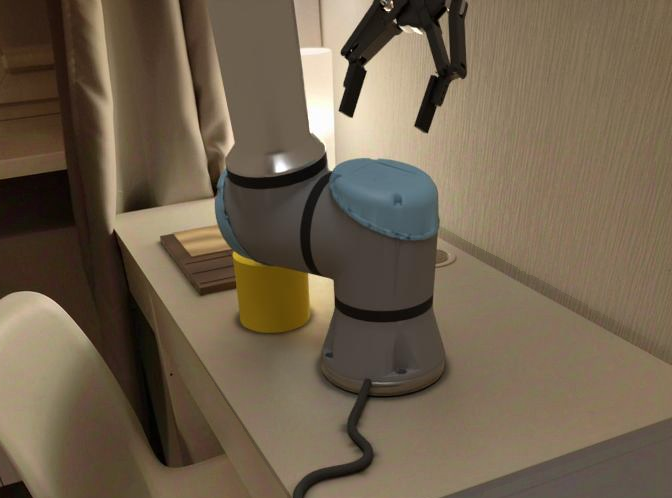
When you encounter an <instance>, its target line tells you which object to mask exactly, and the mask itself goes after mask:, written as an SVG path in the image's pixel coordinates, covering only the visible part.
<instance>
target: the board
mask: <svg viewBox="0 0 672 498" xmlns="http://www.w3.org/2000/svg"><path fill="white" fill-rule="evenodd" d="M159 239H160V243H161V244H162V246H163V247H164V248H165V250H166V251H167V252H168V254H169V255H170V256H171V258H172V259H173V261H174V262H175V263H176V264H177V266H178V267H179V268H180V270H181V271H182V272H183V274H184V276H185V277H186V278H187V279H188V280H189V282H190V283H191V284H192V286H193V287H194V288H195V290H196V291H197V292H198V293H199V295H201V296H204V295H207V294H208V295H209V294H212V293H217V292H223V291H226V290H232V289H235V288H236V289H237V287H236V279H235V270H234V262H233V252H234V251H233V250H232V249H231V248H230V247H229V245H228V244H227V243H226V241H225V240H224V238H223V236H222V234H221V232H220V230H219V227H218V224H213V225H207V226H202V227H197V228H191V229H185V230H181V231H180V230H179V231H174V232H172V233H169V234H162V235H159Z"/></svg>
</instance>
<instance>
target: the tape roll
mask: <svg viewBox="0 0 672 498" xmlns="http://www.w3.org/2000/svg"><path fill="white" fill-rule="evenodd" d="M233 262H234V270H235V279H236V287H237V288H236V295H237V303H238V312H239V313H238V314H239V321H240V324H241V325H242V326H243V327H245V328H246V329H248V330H250V331H253V332H258V333H264V334H265V333H266V334H274V333H284V332H289V331H292V330H295V329H298V328H300V327H302V326H304V325H305V324H307V322H308V321H309V320H310V318H311V303H310V287H309V286H310V284H309V282H310V281H309V273H304V272H300V271H295V270H291V269H286V268H282V267H277V266H266V265H262V264H261V263H258V262H255V261H253V260H251V259H247V258H244V257H242V256H240V255H239V254H237V253H236V252H233Z"/></svg>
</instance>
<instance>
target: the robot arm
mask: <svg viewBox="0 0 672 498" xmlns="http://www.w3.org/2000/svg"><path fill="white" fill-rule="evenodd" d="M205 1H206V7H207V11H208V17H209V21H210V26H211V31H212V36H213V41H214V46H215V47H214V48H215V51H216V56H217V61H218V66H219V71H220V77H221V82H222V87H223V92H224V96H225V97H224V98H225V100H226V101H225V102H226V106H227V112H228V117H229V121H230V127H231V131H232V137H233V141H234V143H233V145H232V147H231V149H230V150H229V152H228V153H227V154H226V156H225V160H224V165H225V169H223V171H222V172H221V174H220V177H219V178H218V180H217V184H216V189H217V190H218V195H215V197H214V215H215V219H216V225H218V227H219V230H220V232H221V234H222V236H223V238H224V240H225V241H226V243H227V244H228V245H229V247H230V248H231V249H232V250H233V251H234V252H236V253H237V254H239V255H240V256H242V257H244V258H247V259H251V260H253V261H255V262H258V263H261V264H262V265H266V266H277V267H282V268H286V269H291V270H295V271H300V272H304V273H308V275H314V276H317V277H322V278H325V279H330V280H332V281H333V300H334V307H333V313H332V315H331V319H330V321H329V326H328V328H327V332H326V335H325V338H324V341H323V346H322V349H321V353H320V354H321V355H320V356H321V370H322V373H323V375H324V376H325V378H326V379H327V380H328V381H329V382H330V383H331V384H333V385H335V386H336V387H338V388H340V389H342V390H346V391H347V392H351V393H354V394H358V395H357V397H356V400H355V402H354V404H353V407H352V409H351V410H350V412H349V415H348V416H347V417H348V418H347V421H346V422H347V423H346V425H347V426H346V428H347V431H348V435H349V436H350V437H351V439H352V440H353V442H355V443H356V444H357V445H358V446H359V447H360V448H361V449H362V451H363V455H362V456H361V457H360V458H359V459H356V460H354V461H351V462H346V463H343V464H336V465H332V466H331V465H330V466H326V467H323V468H319V469H316V470H313V471H311V472H309V473H307V474H306V475H305V476H303V477H302V478H301V480H300V481H299V482H298V483H297V484H296V486H295V487H294V489H293V492H292V498H303V497H304V493H305V491H306V490H307V489H308V487H309V486H310V485H312V484H313V483H314V482H316V481H319V480H321V479H325V478H328V477H329V478H330V477H334V476H339V475H345V474H350V473H353V472H356V471H360V470H361V469H364V468H365V467H366V466H368V465H369V464H370V462H371V461H372V460H373V457H374V447H373V446H372V444H371V443H370V442H369V441H368V440H367V439H366V438H365V437H364V436H363V435H362V434H361V433H360V432H359V430H358V428H357V421H358V419H359V416H360V414H361V412H362V410H363V408H364V406H365V403H366V400H367V397H368V396H373V397H392V396H400V395H405V394H410V393H415V392H417V391H420V390H423V389H425V388H427V387H429V386H431V385H432V384H434V383H436V381H437V380H438V379H440V377H442V375H443V373H444V370H445V360H446V350H445V349H446V348H445V345H444V343H443V338H442V336H441V332H440V328H439V326H438V325H439V324H438V321H437V319H436V314H435V311H434V294H435V293H434V292H435V280H436V279H435V278H436V265H437V263H436V262H437V249H438V237H439V229H440V225H441V224H440V223H441V220H440V219H441V218H440V213H439V208H440V206H439V189H438V186H437V184H436V183H435V181H433V180H434V179H432V176H430V175H429V174H428V173H427V172H426V171H424V170H423V169H421V168H419V167H417V166H414V165H412V164H409V163H406V162H403V161H400V160H399V161H398V160H396V159H395V160H394V159H389V158H382V157H380V158H379V157H378V158H377V159H375V158H373V159H372V158H370V157H357V158H352V159H347V160H344V161H342V162H340V163H338V164H336V165H335V166H334V168H333V169H332V170H330V168H329V162H328V155H327V143H326V142H325V140H323V138H322V137H320V136H319V135H317V134H316V133H315V132H313V131H312V130H311V125H310V124H311V123H310V117H309V116H310V115H309V110H308V109H309V108H308V100H307V93H306V85H305V78H304V69H303V61H302V53H301V45H300V39H299V30H298V24H297V23H298V22H297V13H296V7H295V0H205ZM468 8H469V3H468V2H467V1H466V0H373V1H372V3H371V5H370V6H369V8H368V9H367V11H366V12H365V14H364V15H363V17H362V18H361V20H360V22H358V24H357V25H356V27H355V29H354V30H353V31H352V33H351V34H350V36H349V37H348V38H347V40H346V42H345V43H344V45H343V46H342V48H341V50H340V52H339V53H340V56H341V57H343V58H344V59H346V60H347V62H348V66H347V69H346V72H345V76H344V79H343V83H342V87H343V89H344V91H343V94H342V97H341V100H340V104H339V107H338V110H337V111H338V112H339V113H341V114H343V116H346V117H347V118H350V119H353V118H354V116H355V112H356V108H357V105H358V102H359V99H360V96H361V92H362V90H363V89H362V88H363V86H364V82H365V79H366V77H367V73H368V70H367V69H366V67H365V66H366V65H367V64H369V62H370V61H371V60H372V59H373V58H374V57H375V56H376V55H377V54H378V53H380V52H381V51H382V49H383V48H384V47H386V45H388V43H389V42H390V41H392V40H393V39H394V38H395V37H396V36H399V35H401V34H402V33H406V34H407V33H408V34H413V33H416V34H419V35H425V36H426V39H427V42H428V43H427V44H428V46H429V50H430V53H431V56H432V59H433V63H434V67H435V71H434V73H435V75H434V74H430V76H429V80H428V82H427V84H426V85H427V86H426V88H425V91H424V95H423V97H422V99H421V103H420V106H419V109H418V113H417V115H416V117H415V121H414V125H413V127H414V128H416V129H417V130H419V131H420V132H421V133H423V134H429V132H430V130H431V126H432V123H433V120H434V117H435V114H436V111H437V108H441V107H442V106H443V105H444V101H445V98H446V95H447V93H448V90H449V87H450V84H451V83H452V82H453V81H455V80H458V79H459V80H460V81H461V80H464V79H466V77H467V75H468V65H467V64H468V63H467V42H466V22H465V21H466V17H467V13H468V10H469V9H468ZM445 14H447V15H448V16H447V21H448V22H447V23H448V43H449V55H448V51H447V48H446V44H445V41H444V38H443V30H442V27H441V23H440V19H441V18H442V17H443V16H444V15H445Z"/></svg>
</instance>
